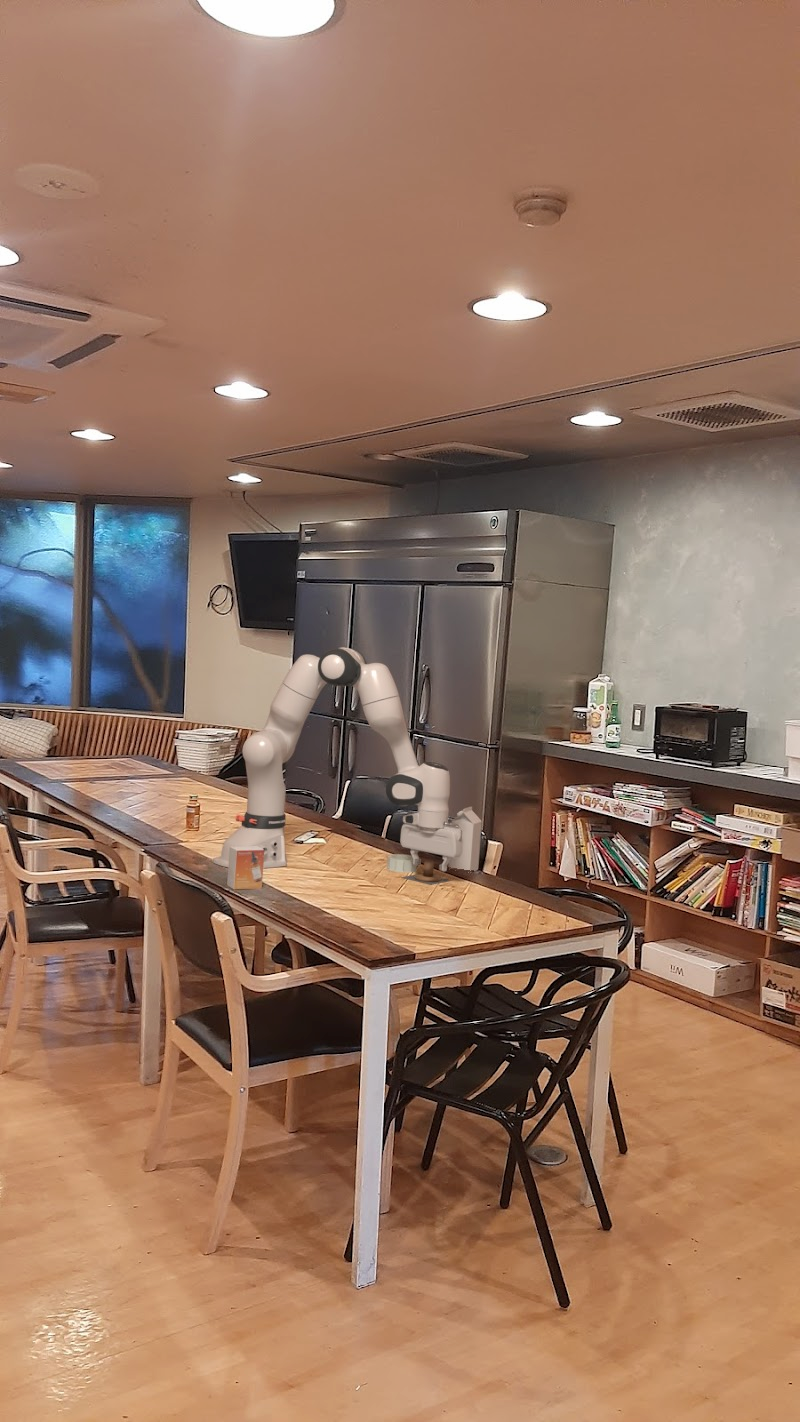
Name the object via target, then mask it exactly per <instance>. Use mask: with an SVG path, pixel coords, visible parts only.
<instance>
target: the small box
mask: <svg viewBox="0 0 800 1422" xmlns="http://www.w3.org/2000/svg"><path fill="white" fill-rule="evenodd" d="M263 865H264V849H262V848H260V847H258V846H247V847H230V850H229V865H228V867H227V868H228V869H227V881H226V882H227V883H226V884H227V886H228V887H229V888H231V889H232V890H262V889H263V880H264V877H263V876H264V868H263Z"/></svg>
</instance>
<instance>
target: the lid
mask: <svg viewBox="0 0 800 1422" xmlns="http://www.w3.org/2000/svg"><path fill="white" fill-rule="evenodd" d="M434 867H435V862H434V861H431V860H425V861H423V872H417V873H415V874H414V875H415V879H416V880H418V881H422V882H440V881H441V878H442V876H441V875H440V874H436V873H434V869H435V868H434Z"/></svg>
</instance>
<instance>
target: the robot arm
mask: <svg viewBox="0 0 800 1422" xmlns="http://www.w3.org/2000/svg"><path fill="white" fill-rule="evenodd" d="M327 684H328V685H331V686H334V687H352V688H354V689H355V690H356V691H357V693H358V696H359V699H360V704H361V707H362V711H363V713H364V718H365V719H366V721H367V722H368V725H369V727H370V728H371V729H372V730H373V731H375V732H376V733H378V734H380V736H382V737H383V738H384V739H385V740H386V741H387V743H388V745H389V747H390V749H391V753H392V755H393V759H394V762H395V766H396V768H397V773H396V774H394V775H392V776H391V777H390V778H389V779H388V780H387V782H386V785H385V794H386V797H387V799H388V800H389V801H390V802H391V803H392V804H394V805H396V806H399V807H407V806H413V805H415V806H417V811H416V812H414V813H410V814H406V815H403V817H402V822H403V824H402V826H401V829H400V836H399V837H400V840H399V841H400V846H401V847H403V848H406V849H410V855H411V856H412V857H413V865H417V867H418V866H421V865H422V864H421V862H422V859H421V858H420V857H419V854H418V853H419V852H425V853H428V854H429V853H430V854H434V855H438V856H442V860H443V861H442V863H441V864H439V866H438V867H439V868H438V870H439V871H440V872H447V870H448V863H449V862H450V860H451V857H452V858H456V857H460V856H461V855H462V852H463V845H462V829H461V828H460V827H459V826H458V825H457V824H451V822H449V813H450V808H449V798H450V796H451V795H450V794H451V777H450V771H449V769H448V767H446V766H445V765H443V764H440V763H437V762H431V761H425V762H423V763H421V764H420V763H419V761H418V758H417V755H416V752H415V749H414V745H413V743H412V740H411V736H410V734H409V730H408V728H407V724H406V719H405V714H404V709H403V706H402V701H401V697H400V694H399V690H398V687H397V685H396V683H395V680H394V678H393V675H392V673H391V671H390V669H389V667H388V666H387V665H385V664H384V663H381V662H371V663H367V659H366V658H365V656H364V655H363V654H362V653H361V652H360V651H358V650H357V649H354V648H348V647H338V648H337V647H333V648H330V649H328V650H326V651H325V652H324V653H323V654H322V655H321V656H320V657H318V656H316V655H315V654H307V653H306V654H302V655H300V656H299V657H298V658H297V659H296V660H295V662H294V663H293V665H292V666H291V667H290V669H289V670H288V672H287V673H286V675H285V676H284V679H283V680H282V683H281V684H280V687H278V688H279V689H278V690H277V692H276V695H275V696H274V698H273V700H272V701H271V704H270V709H269V713H268V716H267V720H266V723H265V725H264V727H263V729H262V730H260V731H256V732H253V733H252V734H251V735H249V737H248V738H246V740H245V741H244V743H243V746H242V757H243V759H244V762H245V769H246V771H245V772H246V778H247V801H246V802H247V803H246V812H244V815H241V814H236V815H235V817H234V819H235V822H240V823H241V825H240V827H238V829H237V830H235V831H234V832H233V833H232V834H231V835H230V836H229V837H227V838H226V839H225V840H224V842H223V843H222V848H221V854H220V856H216V857H213V858H212V863H214V864H215V865H217V866H222V867H224V868H228V865H229V850H230V847H247V846H258V847H260V848H262V849H264V865H263V869H267V868H278V867H286V866H287V863H288V858H287V853H286V845H285V844H286V843H285V831H284V830H285V826H286V813H285V811H286V810H285V809H286V793H287V792H286V791H287V790H286V789H287V787H286V784H285V781H284V774H283V773H284V772H283V764H284V763H287V762H288V761H289V760H290V758H292V756H293V755H294V752H295V751H296V746H297V744H298V741H299V738H300V736H301V733H302V730H303V727H304V725H305V722H306V720H307V718H308V716H309V714H310V712H311V710H312V709H313V706H314V704H316V703H315V702H316V700H317V698H318V696H319V695H320V693H321V691H322V689H323V688H324V687H325V685H327ZM458 828H459V829H458Z"/></svg>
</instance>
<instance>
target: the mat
mask: <svg viewBox="0 0 800 1422" xmlns="http://www.w3.org/2000/svg"><path fill="white" fill-rule="evenodd" d="M400 878H401V879H403V880H408V881H411V882H412V881H413V882H416V883H417V882H418V883H420V884H421V883H422V884H425V885H428V886H429V885H430V886H434V885H437V884H443V883H447V882H452V881H453V880H452V879H448V878H444V877H441V881H440V882H422V881H418V880H416V879H415V874H412V875H406V876H401V877H400Z"/></svg>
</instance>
